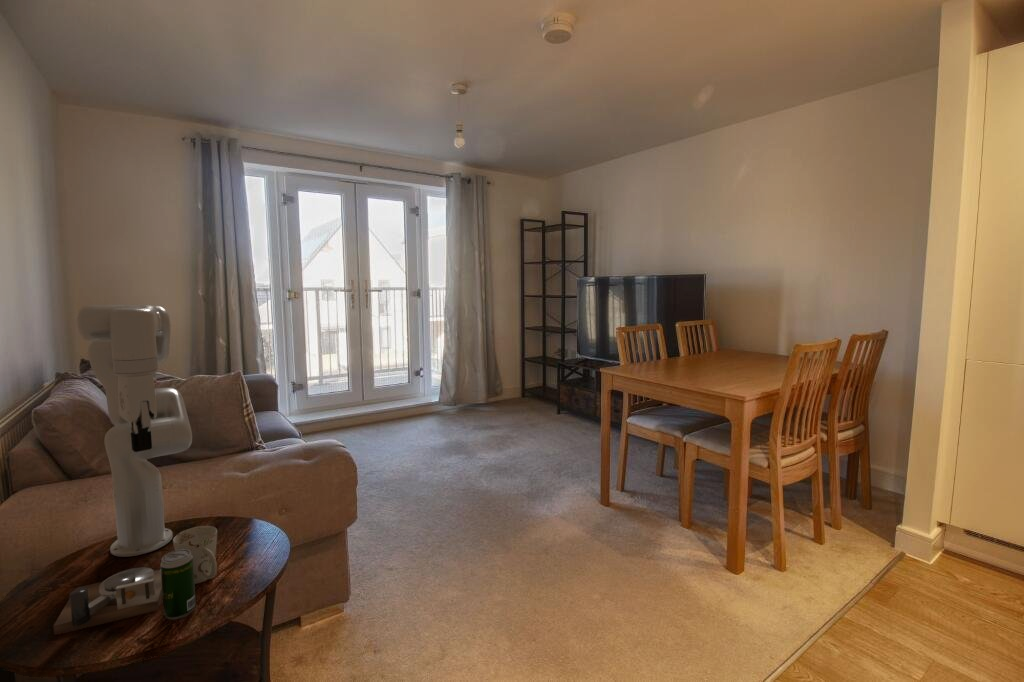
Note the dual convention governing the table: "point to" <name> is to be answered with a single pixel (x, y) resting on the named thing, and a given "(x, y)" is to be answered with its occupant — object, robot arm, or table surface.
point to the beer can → (178, 584)
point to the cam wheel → (103, 593)
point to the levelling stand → (129, 604)
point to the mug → (200, 550)
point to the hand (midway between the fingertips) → (142, 449)
